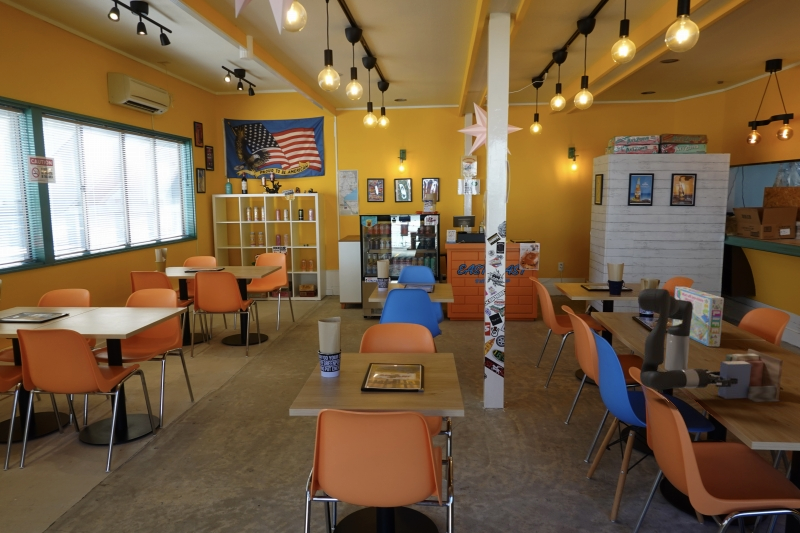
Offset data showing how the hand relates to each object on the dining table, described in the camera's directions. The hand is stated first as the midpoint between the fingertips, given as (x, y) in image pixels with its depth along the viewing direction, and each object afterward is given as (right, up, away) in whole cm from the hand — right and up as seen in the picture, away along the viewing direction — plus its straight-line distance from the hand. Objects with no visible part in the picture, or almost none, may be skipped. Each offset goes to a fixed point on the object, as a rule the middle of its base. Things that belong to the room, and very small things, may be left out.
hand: (729, 377), depth 213 cm
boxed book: (+2, -8, +1) cm, 8 cm away
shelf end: (+12, -8, +5) cm, 15 cm away
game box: (+39, +3, +95) cm, 103 cm away
